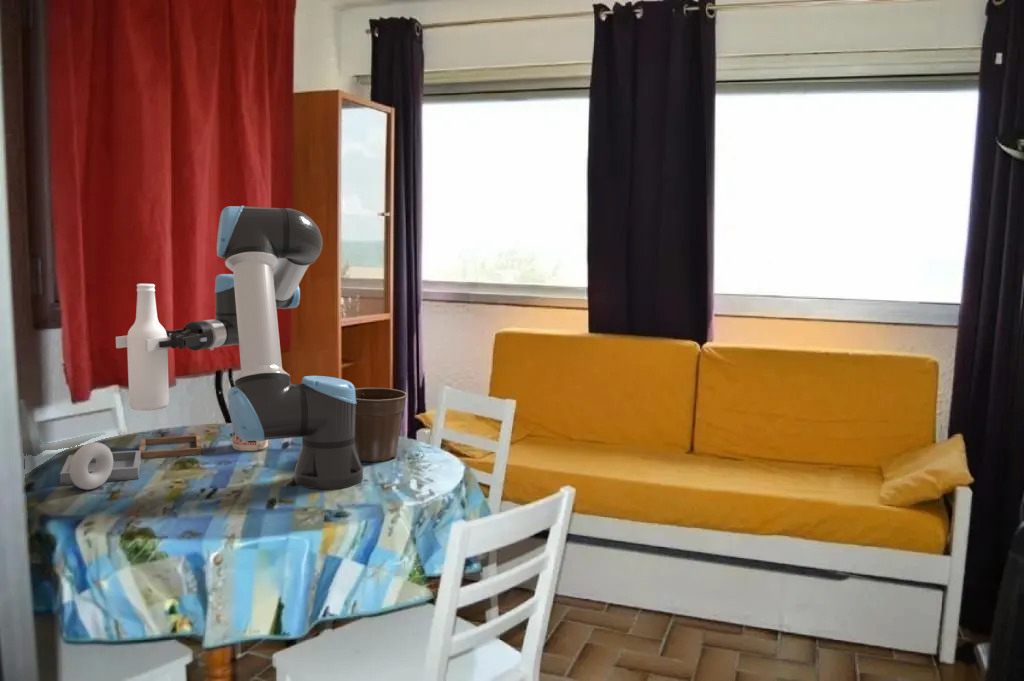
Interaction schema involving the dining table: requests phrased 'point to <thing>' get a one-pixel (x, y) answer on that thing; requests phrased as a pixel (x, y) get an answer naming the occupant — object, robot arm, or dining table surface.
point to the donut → (81, 463)
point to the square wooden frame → (170, 452)
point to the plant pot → (378, 422)
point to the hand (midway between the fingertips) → (131, 344)
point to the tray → (123, 468)
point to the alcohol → (147, 356)
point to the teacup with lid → (248, 444)
